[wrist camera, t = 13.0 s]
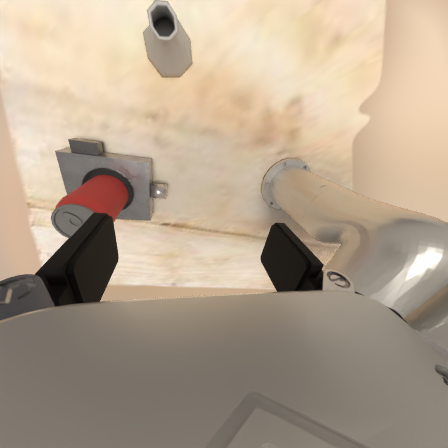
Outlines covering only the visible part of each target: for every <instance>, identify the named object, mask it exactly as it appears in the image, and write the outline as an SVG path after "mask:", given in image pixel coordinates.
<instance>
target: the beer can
mask: <svg viewBox="0 0 448 448" xmlns="http://www.w3.org/2000/svg"><path fill="white" fill-rule="evenodd" d="M127 200H128V191H127V188H126V186H125V185H124V184H123V183H122V182H121V181H120V180H118V179H117V178H115V177H113V176H109V175H98V176H96V177H93V178H92V179H90V180H89V181H87V182H86V183H84V184H83V185H81V186H80V187H78V188H77V189H75V190H74V191H72V192H71V193H69V194H68V195H66V196H65V197H63V198H62V199H61V200H60V202H59V203H58V204H57V206H56V208H55V210H54V211H53V213H52V216H51V220H52V225H53V226H54V227H55V229H56V230H57V231H58V232H59V233H60V234H62V235H63V236H65V237H67V238H70V237H71V236H72V235H73V234H74V233H75V232H76V231H77V230H78V229H79V228H80V227H81V226H82V225H83V223H84V222H85V221H86V220H87V219H88V218H89V217H90V216H91V215H92V214H93V213H94V212H96V213H107V214H108V215H109V216H112V218H113V222H114V221H115V219H116V218H117V216H118V215H119V213H120V212H121V210H122V209H123V207H124V206H125V204H126V203H127Z"/></svg>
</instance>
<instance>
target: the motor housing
mask: <svg viewBox="0 0 448 448" xmlns="http://www.w3.org/2000/svg"><path fill="white" fill-rule="evenodd" d="M68 140H69V144H70V148H69V147H68V148H65V149H61V150H57V151H55V152H56V156H57V160H58V163H59V167H60V171H61V174H62V178H63V181H64V185H65V189H66V192H67V195H68V194H69V193H71V192H72V191H74V190H75V189H77V188H78V187H80V186H81V185H83V184H84V183H86V182H87V181H89V180H90V179H92V178H93V177H96V176H98V175H109V176H113V177H115V178H117V179H118V180H120V181H121V182H122V183H123V184H124V185H125V186H126V188H127V191H128V200H127V203H126V204H125V206H124V207H123V209H122V210H121V212H120V213H119V215H118V216H117V218H116V219H130V220H150V221H151V217H152V214H153V198H159V199H166V197H167V185H165V184H155V183H152V158H145V157H137V156H129V155H122V154H114V153H107V152H103V148H102V142H99V141H92V140H85V139H78V138H72V139H68Z"/></svg>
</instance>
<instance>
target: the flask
mask: <svg viewBox="0 0 448 448" xmlns="http://www.w3.org/2000/svg"><path fill="white" fill-rule="evenodd" d="M147 12H148V18H149V24H150V25H149V26H148V27H147V28H146V30H145V31H144V32H143V34H144V40H145V45H146V50H147V56H148V59H149V60H150V62H151V63H152V64H153V66H154V67H155V68H156V69H157V71H158V72H159V73H160V75H161V76H162V77H180V76H181V75H182V74H183V73H184V72H185V71H186V70H187V69H188V68H189V67H190V66H191V65H192V54H191V42H190V38H189V37H188V35H187V33H186V32H185V30H184V29H183V27H182V25H181V24H180V22H179V21H178V19H177V16H176V14H175V12H174V11H173V9H172V7H171V6H170V4H169V3H168V1H160V0H155V1H154V2H153V4H152V5H151V6H150V7H149V8H148V10H147Z"/></svg>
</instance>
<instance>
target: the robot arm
mask: <svg viewBox="0 0 448 448" xmlns="http://www.w3.org/2000/svg"><path fill="white" fill-rule="evenodd" d="M262 196H263V198H264V200H265V201H266V203H267V204H268V205H269V206H271V207H273V208H275V209H283V210H284V211H285V212H286V213H287V214H288V215H289V216H290V217H291V218H292V219H294V220H295V221H296V222H297V223H298V224H299V225H300V226H301V227H302V228H303V229H304V230H305V231H306V232H307V233H309V234H310V235H311V236H312V237H313V238H315V239H317V240H318V241H321V242H324V243H331V244H341V246H340V247H339V249H338V250H337V251H336V253H335V255H334V256H333V258H332V259H331V260H330V261H329V263H328V264H327V265H326V267H325V268H324V269H323V270H321V269H322V268H323V266H324V265H323V264H322V263H321V262H320V260H319V259H318V258H317V257H316V256H315V255H314V254H313V253H312V252H311V251H310V250H309V249H308V248H307V247H306V246H305V245H304V244H303V242H302V241H301V240H300V239H299V238H298V237H297V236H296V235H295V234H294V233H293V232H292V231H291V230H290V229H289V228H288V227H287V226H286V224H284V223H275V224H274V225H272V226H271V229H270V232H269V234H268V237H267V240H266V243H265V246H264V249H263V252H262V255H261V262H262V264H263V266H264V268H265V270H266V272H267V273H268V275H269V277H270V279H271V281H272V283H273V285H274V287H275V288H276V290H277V292H264V293H243V294H224V295H223V294H222V295H203V296H185V297H167V298H149V299H132V300H116V301H103V302H100V300H101V298H102V295H103V293H104V291H105V289H106V287H107V284H108V282H109V280H110V278H111V276H112V273H113V271H114V269H115V267H116V265H117V262H118V250H117V243H116V236H115V230H114V223H113V218H112V216H109V215H108V214H107V213H96V212H94V213H93V214H92V215H91V216H90V217H89V218H88V219H87V220H86V221H85V222H84V223H83V225H82V226H81V227H80V228H79V229H78V230H77V231H76V232H75V233H74V234H73V235H72V236H71V237H70V238H69V239H68V240H67V241H66V242H65V243H64V244H63V245H62V246H61V247H60V248H59V249H58V250H57V251H56V252H55V253H54V255H53V256H52V257H51V258H50V259H49V260H48V261H47V262H46V263H45V264H44V265H43V266H42V267H41V268H40V269H39V271H38V272H37V273H36V274H35V275H32V274H26V275H18V276H14V277H10V278H7V279H5V280H2V281H0V448H448V223H447V222H444V221H442V220H440V219H438V218H435V217H432V216H429V215H426V214H423V213H419V212H415V211H411V210H408V209H404V208H400V207H396V206H393V205H389V204H386V203H383V202H379V201H376V200H373V199H371V198H368V197H365V196H363V195H360V194H358V193H355V192H353V191H351V190H349V189H346V188H344V187H342V186H340V185H337V184H335V183H333V182H330V181H328V180H326V179H324V178H321V177H319V176H317V175H315V174H312V173H311V171H310V169H309V167H308V165H307V164H306V163H305V162H303V161H301V160H299V159H294V158H288V159H284V160H282V161H279V162H278V163H276V164H275V165H273V166H272V167H271V168H270V169H269V171H268V172H267V173H266V175H265V177H264V179H263V182H262Z"/></svg>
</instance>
